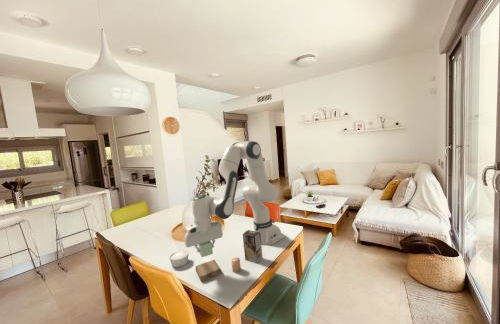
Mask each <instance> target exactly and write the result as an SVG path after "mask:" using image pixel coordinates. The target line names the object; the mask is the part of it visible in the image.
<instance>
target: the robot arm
mask: <svg viewBox="0 0 500 324" xmlns="http://www.w3.org/2000/svg"><path fill="white" fill-rule="evenodd" d="M222 154H223V155H222V156H221V159H220V161H219V165H218V172H219V174H220V175H221V177H222V178H223V179H224V180H225V187H224V192H223V197H222V198H221V197H217V196H211V195H208V194H207V193H201V194H198V195H195V196H194V197H193V198H192V203H191V204H192V205H191V206H192V214H193V222H192V223H190V224H188V225H187V226H185V231H186V232H185V233H184V244H185V247H186V248H190V247H195V249H196V252H197V253H199V252H200V248H199V247H198V244H201V243H205V242H208V241H211V243H212V249H213V248H215V246H214V244H215V242H216V240H218V239H221V238H223V235H224V234H223V228H222V227H223V226H222V225H223V224H222V222H221V221H219V220H216V221H213V222H212V219H211V217H212V216H216V217H218V218H220V219H221V220H226V219H229V218H230V217H231V216H232V214H233V213H234V209H235V208H234V207H235V197H236V192H237V187H238V183H239V175H238V170H239V169H238V168H239V166H240V162H241V160H245V159H246V161H247V171H248V177H249V179H250V180H251V181H252V182H254V183H255V184H250V185H245V186H244V187H243V189H242V192H241V194H242V198H243V199H244V200H246V201H247V202H248V204H249V206H250V208H251V210H252V215H253V229H254V230H253V231H255V232H260V236H261V245H267V246H271V245H273V244H275V243H277V242H279V241H281V240H284V239H285V237H286V236H285V234H284V233H283V232H282V231H281V229H280V227H279V226H277V225H276V224H275V223H276V220H275V219H271V218H270V209H269V207H268V206H266V205H265V204H264V203H271V202H275V201H276V200H277V199H278V196H279V195H278V189H277V187H275V186H273V185H272V184H271V182H270V181H269V180H268V178H267V175H266V168H265V161H264V157H263V153H262V149H261V145H260V144H259V143H258V142H257V141H254V140H251V141H249V140H248V141H247V140H246V141H240V142H237V141H236V142H233V143H232V144H231V145H229V146H228V145H227V147H226V148H225V150H224V152H223V153H222Z"/></svg>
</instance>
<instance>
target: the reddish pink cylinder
mask: <svg viewBox="0 0 500 324" xmlns="http://www.w3.org/2000/svg"><path fill="white" fill-rule="evenodd" d="M230 261H231V270H232V273H235V274H237V273H240V272H241V271H242V270H241V268H242V267H241V259H240V258H239V257H233V258H231V260H230Z"/></svg>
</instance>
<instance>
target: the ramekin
mask: <svg viewBox="0 0 500 324" xmlns="http://www.w3.org/2000/svg"><path fill="white" fill-rule="evenodd" d="M168 259H169V262H170V264H171V265H170V266H172V267H174V268H179V267H180V268H181V267H183V266H185V265H186V264H187V263H188V261H189V251H188V250H184V249H182V250H177V251H174V252H172V253H171V254H170V255H169V257H168Z"/></svg>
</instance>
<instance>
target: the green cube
mask: <svg viewBox="0 0 500 324" xmlns="http://www.w3.org/2000/svg"><path fill="white" fill-rule="evenodd" d="M197 247H198V248H200V252H198V253H199V255H200V257H201V258H204V257H207V256H211V255H213V254H214V252H213V248H212V240H211V241H208V242H205V243H201V244H198V246H197Z"/></svg>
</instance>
